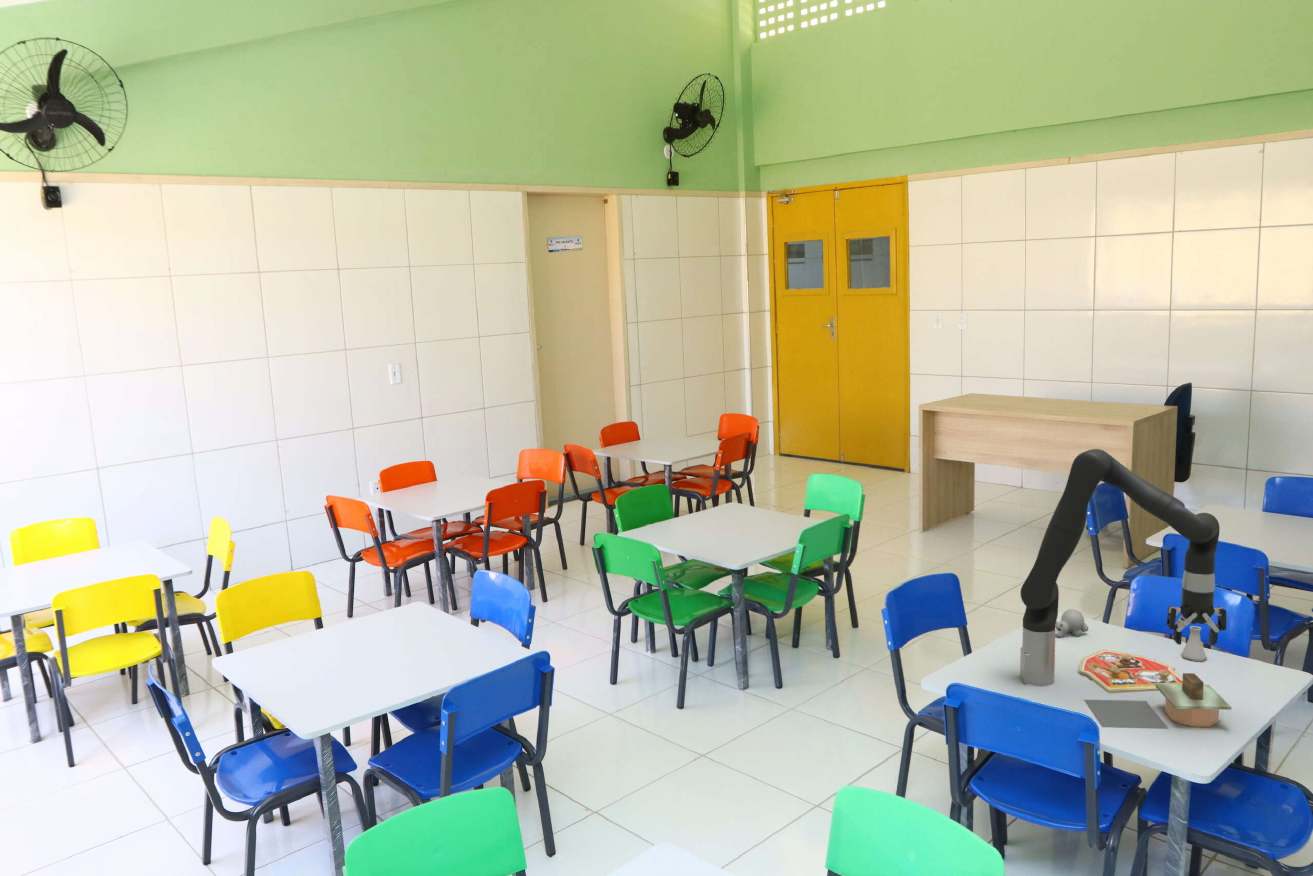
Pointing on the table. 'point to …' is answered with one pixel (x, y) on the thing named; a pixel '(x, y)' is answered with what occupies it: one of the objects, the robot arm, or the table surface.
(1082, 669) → the knob puzzle
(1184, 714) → the bowl
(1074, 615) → the round bodied animal figurine
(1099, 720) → the mat
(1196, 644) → the flask
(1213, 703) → the lid
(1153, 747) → the table surface
